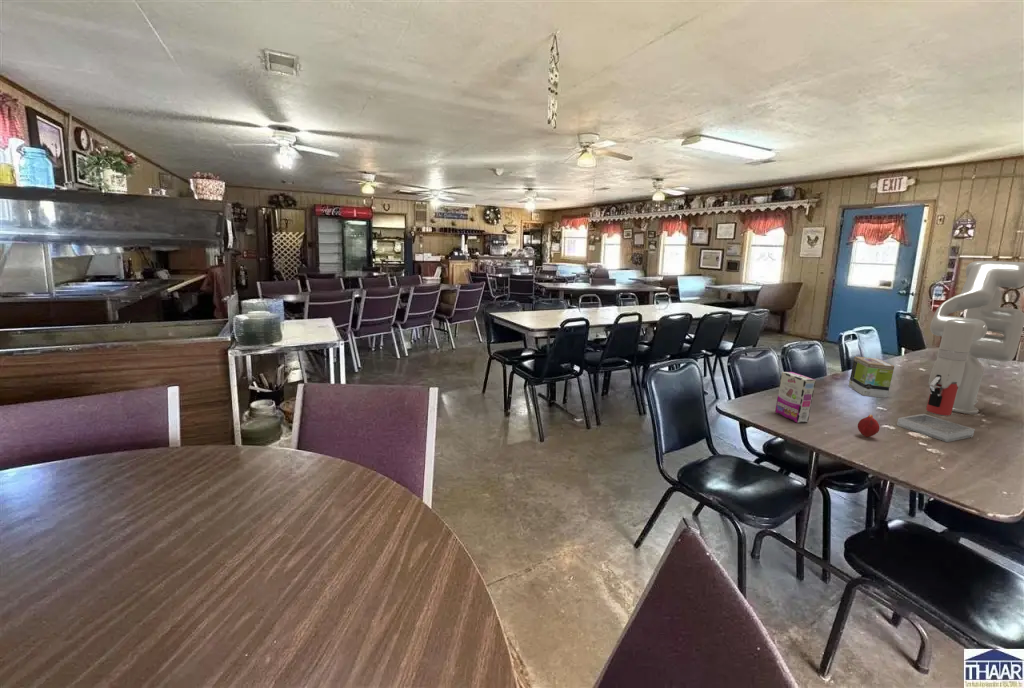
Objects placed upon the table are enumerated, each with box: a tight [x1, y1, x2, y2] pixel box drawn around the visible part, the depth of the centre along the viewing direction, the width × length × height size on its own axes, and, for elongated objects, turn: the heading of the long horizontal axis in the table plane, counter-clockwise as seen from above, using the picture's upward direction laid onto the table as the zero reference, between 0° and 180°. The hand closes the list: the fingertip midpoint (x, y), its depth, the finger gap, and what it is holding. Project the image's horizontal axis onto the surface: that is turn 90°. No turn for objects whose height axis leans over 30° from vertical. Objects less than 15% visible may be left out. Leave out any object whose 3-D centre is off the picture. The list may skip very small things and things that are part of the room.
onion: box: [857, 414, 880, 438], centre depth 155 cm, size 6×6×8 cm
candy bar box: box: [774, 371, 817, 424], centre depth 170 cm, size 11×5×16 cm, turn 12°
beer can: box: [925, 382, 958, 417], centre depth 160 cm, size 7×7×12 cm
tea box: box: [848, 356, 895, 399], centre depth 206 cm, size 15×10×15 cm
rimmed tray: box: [896, 413, 975, 443], centre depth 163 cm, size 15×15×3 cm
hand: (940, 404), depth 161 cm, fingers closed on beer can, 6 cm apart
